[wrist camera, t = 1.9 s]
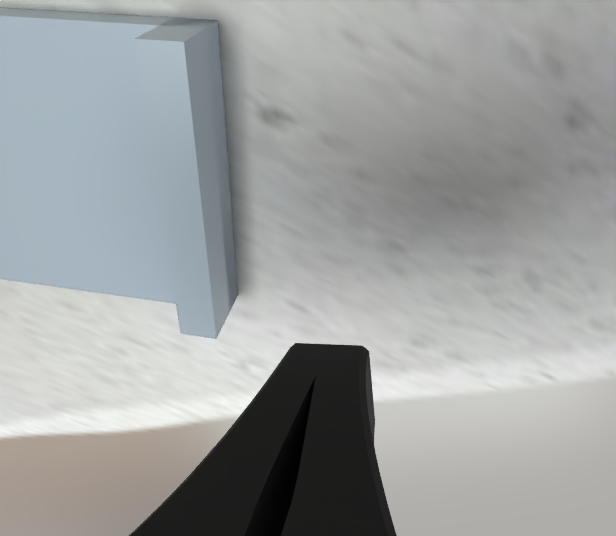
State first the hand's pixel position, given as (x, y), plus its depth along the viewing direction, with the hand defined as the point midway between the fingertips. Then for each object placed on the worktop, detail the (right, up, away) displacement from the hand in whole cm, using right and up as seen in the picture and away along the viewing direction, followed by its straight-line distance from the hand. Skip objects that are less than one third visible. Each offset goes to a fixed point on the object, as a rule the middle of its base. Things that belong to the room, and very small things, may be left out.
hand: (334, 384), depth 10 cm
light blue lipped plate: (-8, +6, +8) cm, 13 cm away
